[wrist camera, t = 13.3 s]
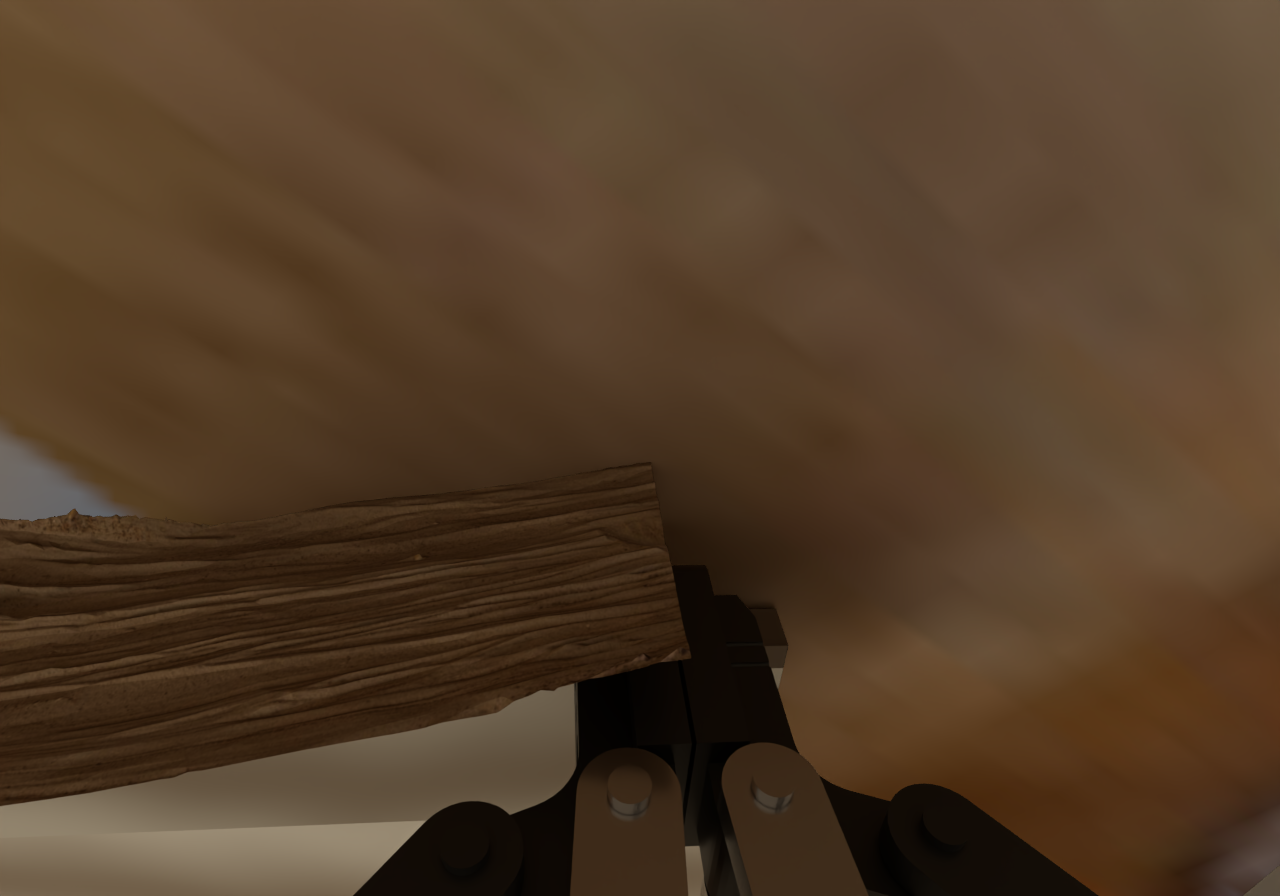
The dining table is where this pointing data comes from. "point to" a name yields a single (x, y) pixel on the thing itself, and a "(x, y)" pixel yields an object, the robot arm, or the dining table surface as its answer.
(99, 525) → the driftwood piece
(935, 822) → the robot arm
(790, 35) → the dining table surface
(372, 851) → the floor panel
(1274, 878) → the baseboard
